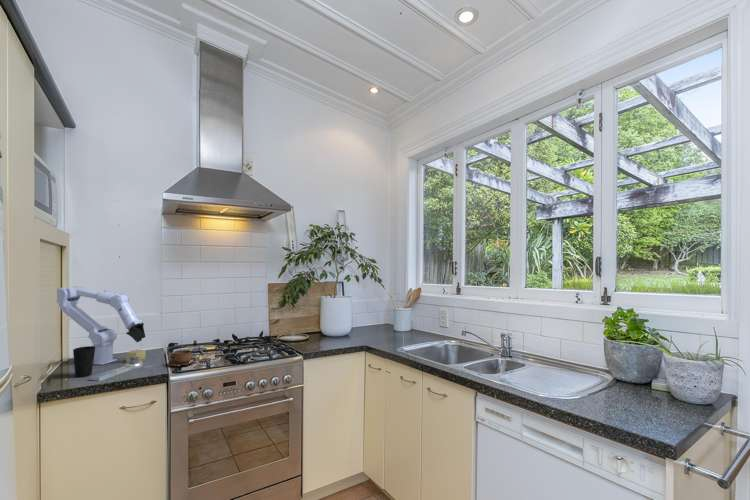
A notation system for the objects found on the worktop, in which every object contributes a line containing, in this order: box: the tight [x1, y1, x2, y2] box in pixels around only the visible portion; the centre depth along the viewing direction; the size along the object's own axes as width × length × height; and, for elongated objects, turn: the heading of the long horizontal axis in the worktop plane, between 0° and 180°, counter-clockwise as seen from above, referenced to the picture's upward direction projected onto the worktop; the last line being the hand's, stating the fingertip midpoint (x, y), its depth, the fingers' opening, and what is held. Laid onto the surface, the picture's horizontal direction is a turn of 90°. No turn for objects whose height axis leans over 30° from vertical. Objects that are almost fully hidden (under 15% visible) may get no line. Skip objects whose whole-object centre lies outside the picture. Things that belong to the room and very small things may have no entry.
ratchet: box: [90, 356, 144, 382], centre depth 157 cm, size 7×22×5 cm, turn 169°
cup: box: [72, 345, 96, 379], centre depth 152 cm, size 8×8×12 cm
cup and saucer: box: [167, 349, 197, 367], centre depth 170 cm, size 12×12×6 cm
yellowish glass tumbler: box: [125, 349, 147, 364], centre depth 174 cm, size 6×6×5 cm
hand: (141, 339), depth 172 cm, fingers open, 7 cm apart
